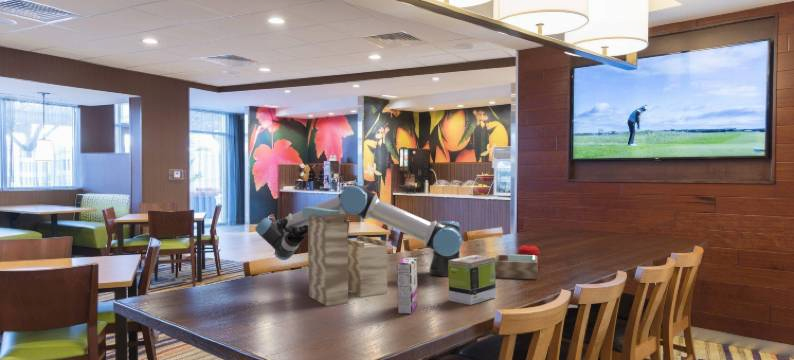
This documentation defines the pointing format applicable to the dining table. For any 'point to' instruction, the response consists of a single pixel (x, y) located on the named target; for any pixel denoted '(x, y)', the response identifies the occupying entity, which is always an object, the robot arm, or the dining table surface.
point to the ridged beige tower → (367, 266)
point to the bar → (317, 212)
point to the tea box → (472, 279)
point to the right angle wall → (521, 258)
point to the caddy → (515, 268)
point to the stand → (328, 258)
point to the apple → (529, 250)
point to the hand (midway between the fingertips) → (308, 215)
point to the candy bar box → (407, 285)
